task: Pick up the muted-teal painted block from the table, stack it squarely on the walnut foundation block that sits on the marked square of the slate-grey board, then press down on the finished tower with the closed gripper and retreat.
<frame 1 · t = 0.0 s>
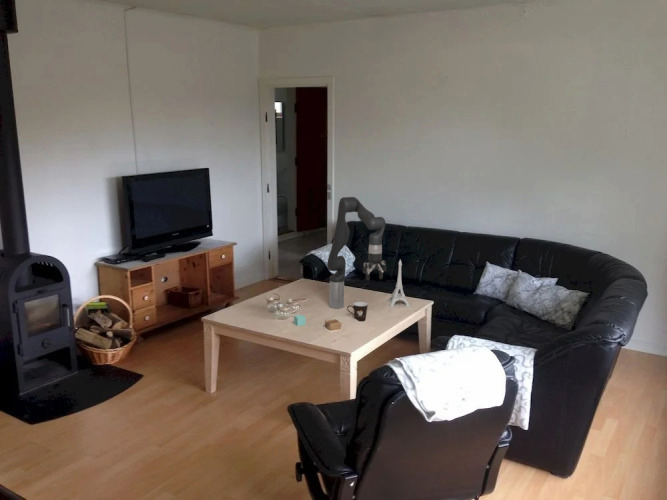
hand: (374, 279, 344), 29 cm above the table, fingers open, 8 cm apart
board: (330, 328, 347), on the table
teal block: (299, 326, 351), on the table
eiffel tower: (398, 304, 397), on the table
walnut block: (332, 328, 344), point 1 cm above the table, touching board
coffee mug: (358, 319, 365), on the table
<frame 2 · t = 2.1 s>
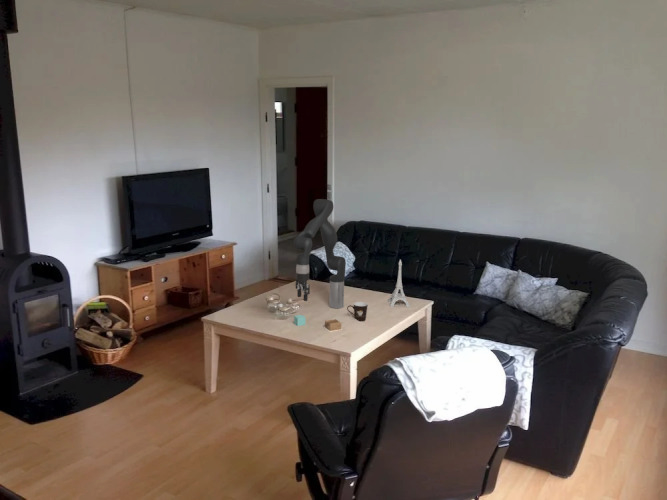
hand: (302, 298, 347), 17 cm above the table, fingers open, 8 cm apart
nothing on the table moved.
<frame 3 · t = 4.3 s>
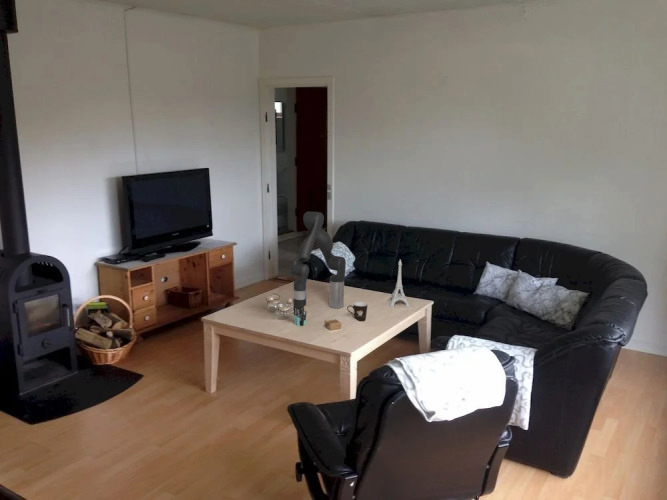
hand: (299, 324, 351), 1 cm above the table, fingers closed on teal block, 5 cm apart
teal block: (299, 326, 351), on the table, touching gripper
everything else where it was.
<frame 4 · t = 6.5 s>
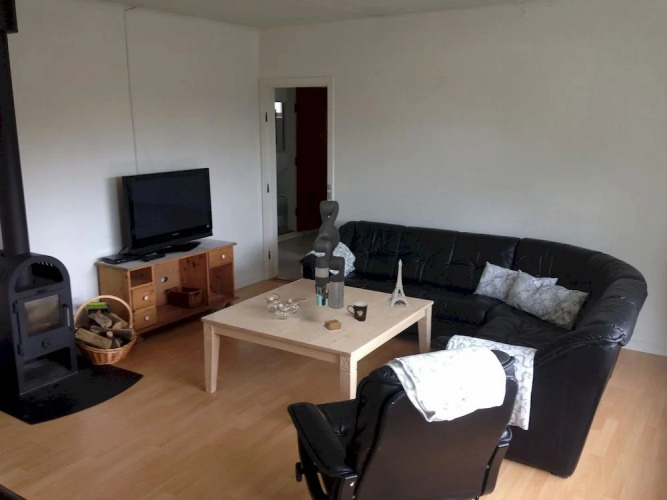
hand: (321, 303, 343), 15 cm above the table, fingers closed on teal block, 5 cm apart
teal block: (321, 304, 344), point 15 cm above the table, touching gripper
everything else where it was.
when the fingers open (7 cm above the table, at t = 8.9 s): teal block stays where it is, resting on walnut block.
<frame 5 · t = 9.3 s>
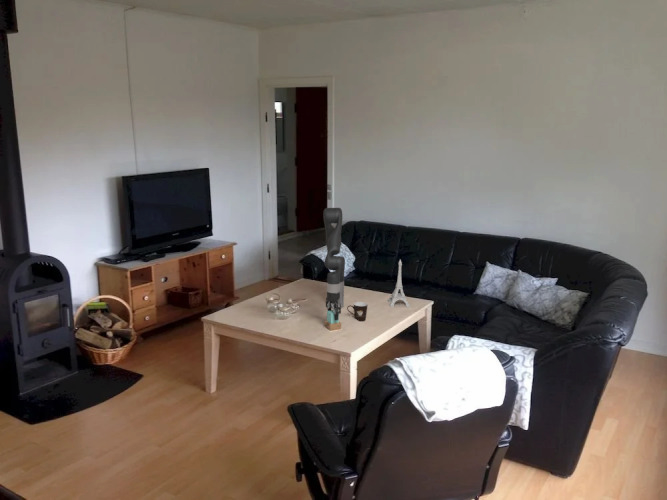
hand: (333, 317, 343), 8 cm above the table, fingers open, 8 cm apart
teal block: (332, 321, 344), point 5 cm above the table, touching walnut block
walnut block: (332, 328, 344), point 1 cm above the table, touching board, teal block
everything else where it was.
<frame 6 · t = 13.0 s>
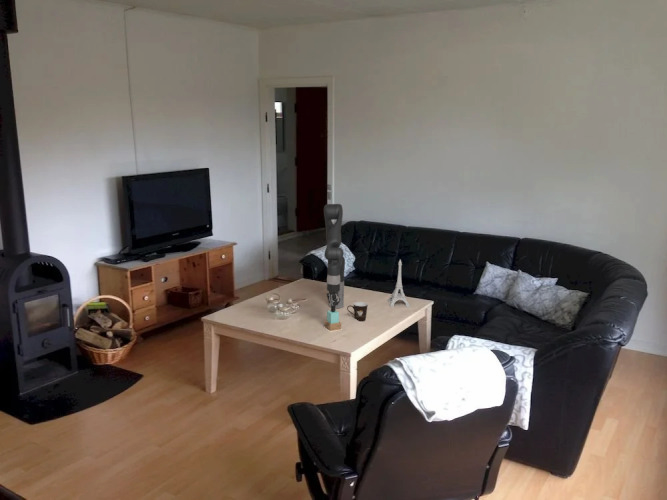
hand: (333, 311, 342), 12 cm above the table, fingers closed
nothing on the table moved.
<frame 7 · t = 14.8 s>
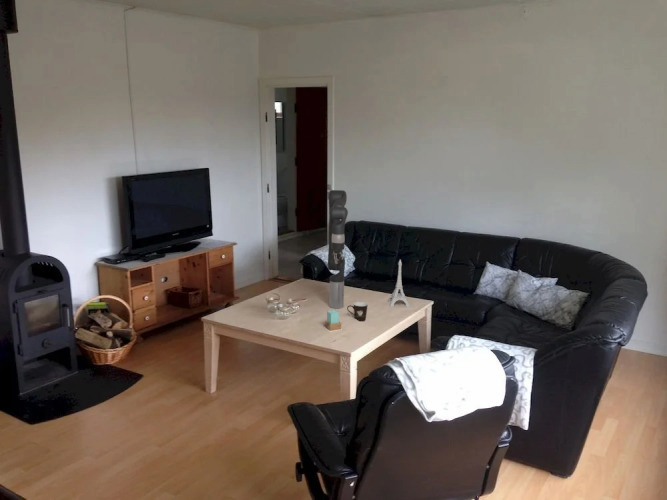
hand: (337, 269, 353), 32 cm above the table, fingers closed
nothing on the table moved.
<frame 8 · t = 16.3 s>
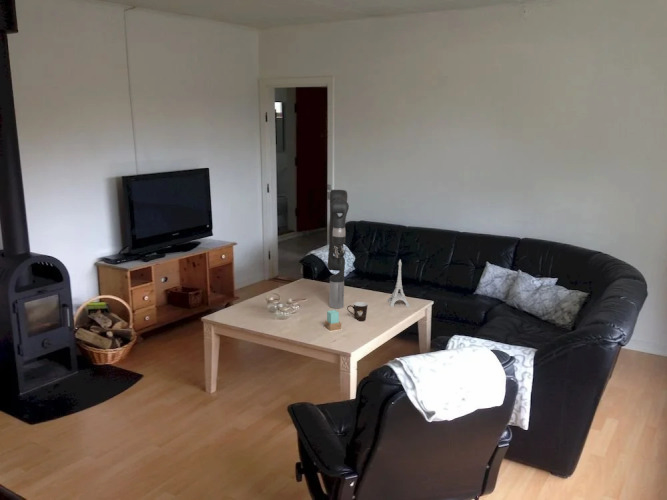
hand: (338, 263, 355), 35 cm above the table, fingers closed
nothing on the table moved.
at the end: teal block 0.1 cm off-centre on the walnut block, point 4.0 cm above the walnut block's base; teal block tilted 0°; the gripper is holding nothing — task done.
